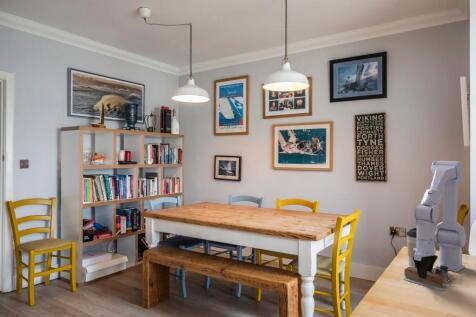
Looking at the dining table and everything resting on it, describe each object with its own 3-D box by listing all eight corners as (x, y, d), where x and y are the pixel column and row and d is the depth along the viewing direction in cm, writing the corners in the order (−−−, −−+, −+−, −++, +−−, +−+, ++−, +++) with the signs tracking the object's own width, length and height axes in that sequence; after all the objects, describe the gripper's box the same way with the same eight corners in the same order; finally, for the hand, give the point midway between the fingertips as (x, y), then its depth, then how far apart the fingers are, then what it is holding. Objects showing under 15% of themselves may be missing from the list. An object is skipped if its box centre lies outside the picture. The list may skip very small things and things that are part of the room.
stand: (418, 270, 130) (418, 259, 130) (450, 279, 122) (450, 267, 122) (412, 274, 126) (412, 262, 126) (444, 283, 118) (444, 270, 118)
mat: (411, 275, 125) (411, 274, 125) (450, 285, 116) (450, 285, 116) (403, 279, 121) (403, 278, 121) (443, 291, 111) (443, 290, 111)
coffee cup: (434, 270, 130) (435, 233, 130) (409, 268, 132) (410, 231, 132) (426, 263, 139) (426, 227, 139) (403, 261, 141) (403, 226, 141)
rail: (407, 275, 125) (407, 266, 125) (447, 285, 115) (447, 276, 115) (403, 277, 123) (403, 268, 122) (443, 288, 112) (443, 278, 112)
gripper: (421, 233, 126) (420, 268, 126) (405, 239, 117) (404, 277, 117) (442, 237, 121) (441, 273, 121) (427, 244, 111) (426, 283, 111)
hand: (424, 276), depth 119 cm, fingers open, 4 cm apart
